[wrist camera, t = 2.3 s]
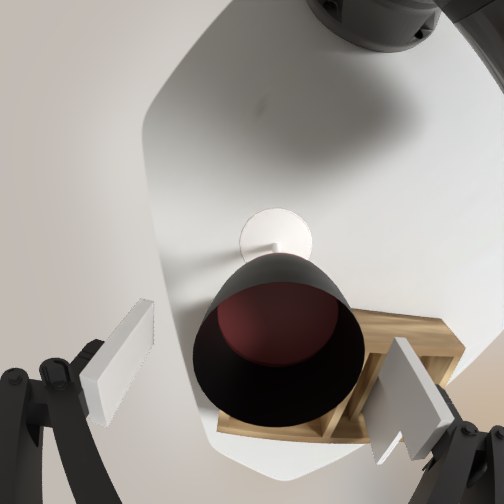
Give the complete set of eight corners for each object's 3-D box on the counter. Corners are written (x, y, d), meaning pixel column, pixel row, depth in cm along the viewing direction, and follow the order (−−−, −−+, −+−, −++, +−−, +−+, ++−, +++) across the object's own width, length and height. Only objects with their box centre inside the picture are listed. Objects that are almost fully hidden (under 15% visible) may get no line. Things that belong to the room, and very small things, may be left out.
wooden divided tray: (239, 291, 34) (231, 323, 28) (441, 318, 34) (465, 348, 27) (224, 394, 39) (216, 431, 33) (396, 408, 39) (409, 441, 32)
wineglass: (235, 279, 34) (195, 419, 15) (240, 199, 31) (191, 272, 12) (308, 285, 34) (339, 429, 15) (319, 206, 31) (385, 289, 12)
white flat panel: (391, 332, 34) (424, 391, 23) (396, 332, 34) (430, 391, 23) (359, 403, 38) (375, 464, 27) (364, 403, 38) (381, 463, 27)
